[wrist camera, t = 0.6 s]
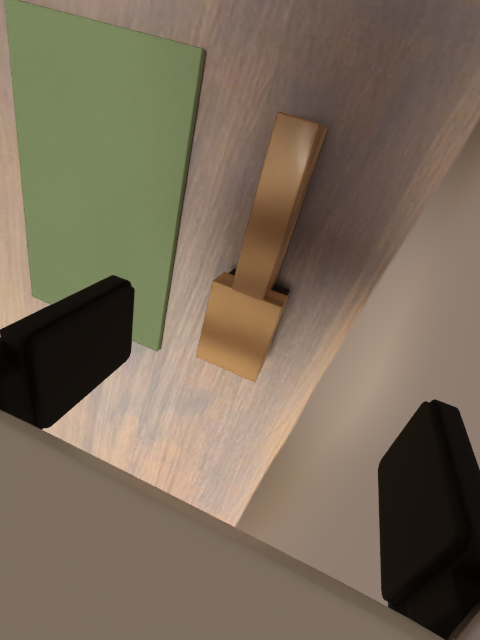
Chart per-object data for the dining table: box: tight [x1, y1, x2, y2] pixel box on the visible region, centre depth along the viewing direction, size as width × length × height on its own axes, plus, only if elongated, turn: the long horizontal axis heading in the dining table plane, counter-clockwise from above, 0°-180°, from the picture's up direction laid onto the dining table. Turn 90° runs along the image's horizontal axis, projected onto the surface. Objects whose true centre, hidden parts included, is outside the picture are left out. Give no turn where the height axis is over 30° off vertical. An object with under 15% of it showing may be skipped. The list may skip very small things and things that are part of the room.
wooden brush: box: [196, 112, 327, 382], centre depth 21 cm, size 16×5×4 cm, turn 165°
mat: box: [5, 0, 206, 351], centre depth 25 cm, size 22×14×1 cm, turn 165°
